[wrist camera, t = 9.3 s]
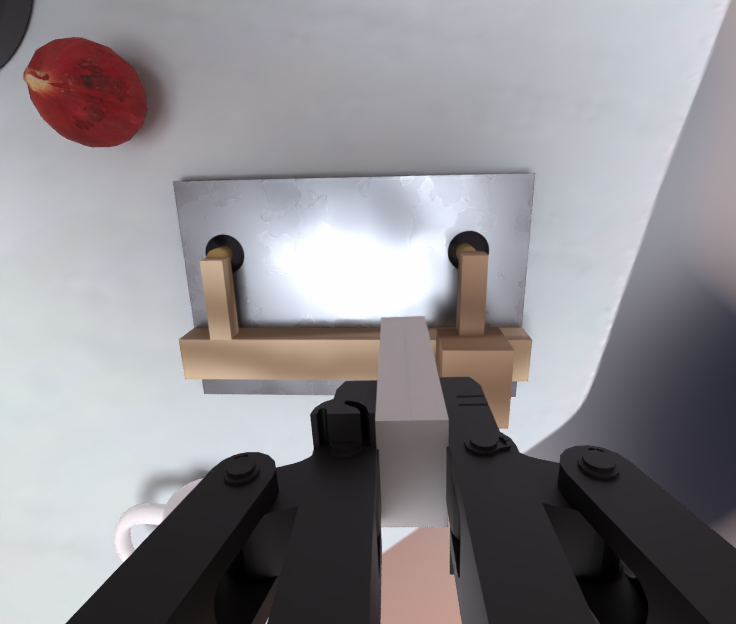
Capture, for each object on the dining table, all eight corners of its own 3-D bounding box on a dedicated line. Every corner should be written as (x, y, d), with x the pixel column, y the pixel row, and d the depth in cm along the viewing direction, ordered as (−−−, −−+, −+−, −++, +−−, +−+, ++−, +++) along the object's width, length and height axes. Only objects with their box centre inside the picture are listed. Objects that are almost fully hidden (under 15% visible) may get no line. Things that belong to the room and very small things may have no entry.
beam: (182, 246, 31) (164, 252, 29) (529, 241, 29) (540, 247, 27) (199, 364, 34) (184, 379, 31) (518, 366, 32) (528, 381, 30)
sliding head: (435, 243, 30) (445, 261, 23) (495, 242, 29) (521, 260, 23) (431, 379, 33) (440, 427, 26) (486, 380, 32) (508, 428, 26)
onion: (162, 55, 29) (77, 10, 21) (175, 149, 30) (101, 140, 23) (76, 58, 29) (-38, 16, 21) (94, 151, 31) (-6, 143, 23)
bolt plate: (181, 181, 31) (172, 181, 30) (529, 173, 29) (535, 173, 28) (210, 386, 36) (204, 393, 34) (511, 389, 34) (515, 396, 33)
